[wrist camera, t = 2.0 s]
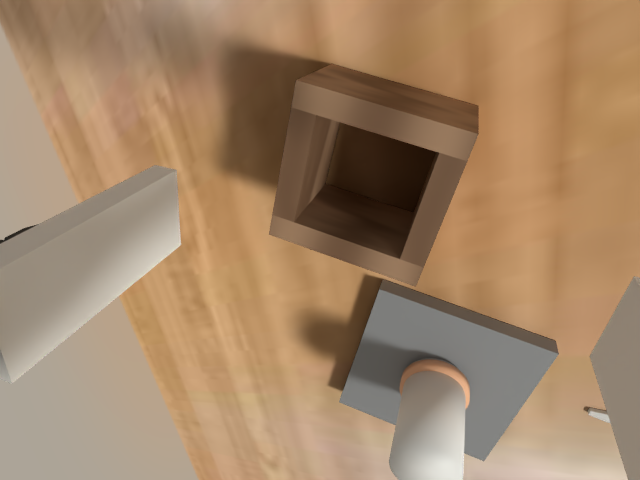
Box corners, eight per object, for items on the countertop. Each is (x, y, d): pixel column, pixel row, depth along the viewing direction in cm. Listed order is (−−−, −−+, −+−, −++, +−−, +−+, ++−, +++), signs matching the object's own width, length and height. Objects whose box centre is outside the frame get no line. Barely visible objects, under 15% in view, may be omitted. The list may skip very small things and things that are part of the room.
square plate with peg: (342, 390, 44) (311, 483, 36) (382, 279, 37) (354, 362, 28) (483, 447, 42) (485, 560, 33) (555, 341, 35) (580, 451, 26)
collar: (303, 194, 35) (268, 234, 29) (331, 63, 30) (295, 80, 24) (426, 236, 34) (415, 286, 28) (478, 106, 29) (478, 134, 23)
